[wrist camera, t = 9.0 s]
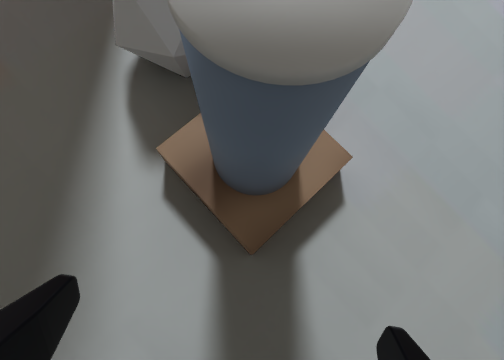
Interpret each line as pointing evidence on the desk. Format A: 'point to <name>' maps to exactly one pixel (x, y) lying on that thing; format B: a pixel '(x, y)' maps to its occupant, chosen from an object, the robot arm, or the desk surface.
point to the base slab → (242, 205)
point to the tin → (276, 75)
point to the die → (150, 33)
